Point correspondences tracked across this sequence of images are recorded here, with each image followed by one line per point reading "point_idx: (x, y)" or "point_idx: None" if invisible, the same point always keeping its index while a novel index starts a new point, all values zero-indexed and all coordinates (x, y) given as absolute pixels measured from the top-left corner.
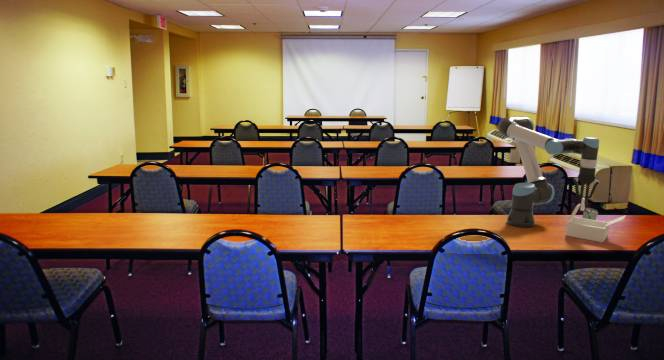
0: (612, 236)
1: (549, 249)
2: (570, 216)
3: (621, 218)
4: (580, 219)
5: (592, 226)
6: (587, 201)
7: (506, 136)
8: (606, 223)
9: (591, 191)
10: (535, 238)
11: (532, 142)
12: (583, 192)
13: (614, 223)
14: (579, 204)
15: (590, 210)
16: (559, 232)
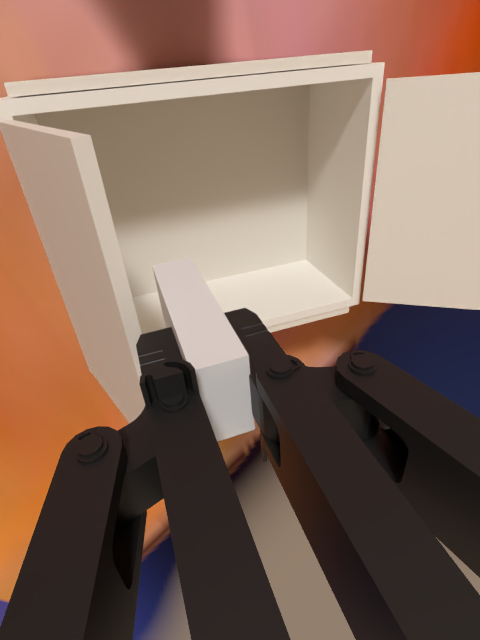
0: (343, 31)
1: (155, 530)
2: (108, 392)
3: None
4: (95, 106)
5: (281, 322)
6: (271, 342)
7: None
8: (354, 78)
9: (454, 543)
10: (9, 487)
11: None
12: (230, 482)
13: (443, 305)
14: (136, 329)
15: None
16: (7, 269)
